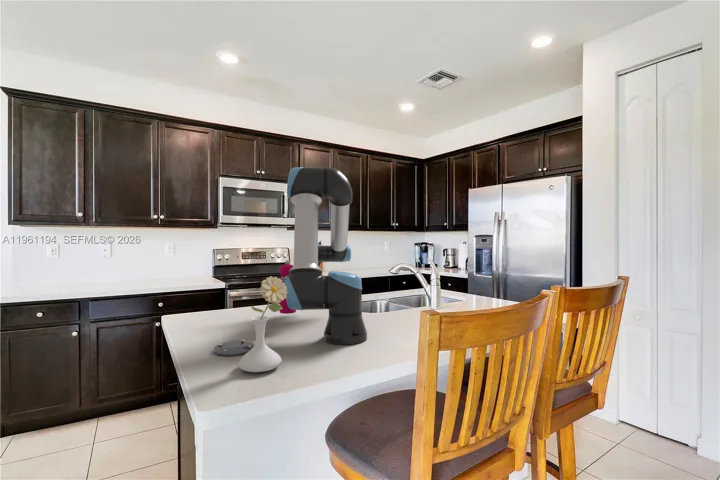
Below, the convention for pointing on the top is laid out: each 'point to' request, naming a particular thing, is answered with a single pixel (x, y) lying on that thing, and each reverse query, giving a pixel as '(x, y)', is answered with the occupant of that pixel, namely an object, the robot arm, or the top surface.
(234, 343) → the flange plate
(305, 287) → the robot arm
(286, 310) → the pepper mill
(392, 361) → the top surface
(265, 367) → the flower in vase
